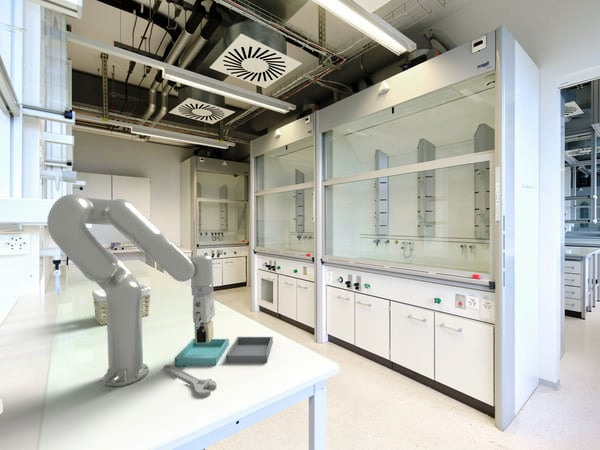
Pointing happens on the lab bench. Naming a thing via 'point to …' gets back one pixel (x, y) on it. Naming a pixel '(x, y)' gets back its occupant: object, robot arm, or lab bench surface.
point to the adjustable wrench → (192, 381)
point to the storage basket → (101, 308)
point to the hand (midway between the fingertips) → (204, 338)
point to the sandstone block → (207, 331)
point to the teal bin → (202, 353)
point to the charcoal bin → (250, 350)
